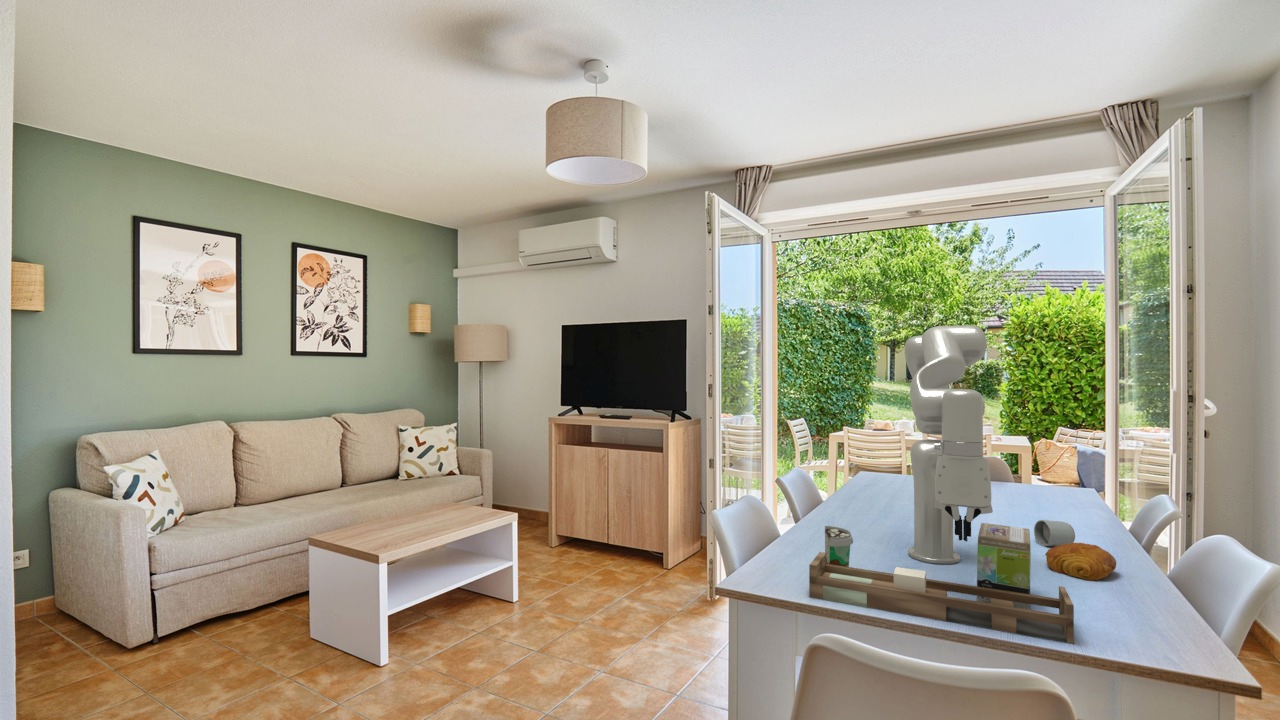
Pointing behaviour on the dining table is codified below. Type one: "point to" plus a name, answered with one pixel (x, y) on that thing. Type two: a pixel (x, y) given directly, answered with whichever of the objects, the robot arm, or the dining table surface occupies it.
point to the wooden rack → (944, 601)
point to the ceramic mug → (1053, 533)
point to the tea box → (1004, 560)
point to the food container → (837, 545)
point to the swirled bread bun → (1081, 561)
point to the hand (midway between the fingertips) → (962, 539)
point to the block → (910, 579)
